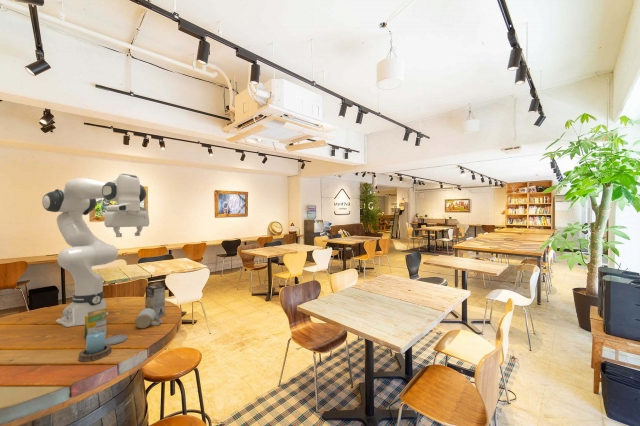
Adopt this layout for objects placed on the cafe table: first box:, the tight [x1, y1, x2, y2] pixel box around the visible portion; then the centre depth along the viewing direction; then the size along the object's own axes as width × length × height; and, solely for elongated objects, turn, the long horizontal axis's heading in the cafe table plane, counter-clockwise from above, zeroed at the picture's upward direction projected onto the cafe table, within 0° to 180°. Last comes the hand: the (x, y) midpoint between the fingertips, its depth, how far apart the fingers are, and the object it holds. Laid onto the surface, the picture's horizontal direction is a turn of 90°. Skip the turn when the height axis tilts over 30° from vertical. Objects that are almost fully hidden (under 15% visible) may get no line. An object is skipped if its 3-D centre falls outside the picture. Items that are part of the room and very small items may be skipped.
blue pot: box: [85, 331, 106, 355], centre depth 104 cm, size 10×6×8 cm, turn 41°
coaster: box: [105, 334, 129, 346], centre depth 114 cm, size 9×9×1 cm
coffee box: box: [144, 283, 166, 318], centre depth 145 cm, size 9×6×16 cm
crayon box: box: [84, 307, 108, 339], centre depth 120 cm, size 7×3×12 cm, turn 152°
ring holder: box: [78, 344, 112, 363], centre depth 102 cm, size 9×9×2 cm
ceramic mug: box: [134, 308, 162, 329], centre depth 131 cm, size 11×8×8 cm
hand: (128, 236), depth 126 cm, fingers open, 8 cm apart
